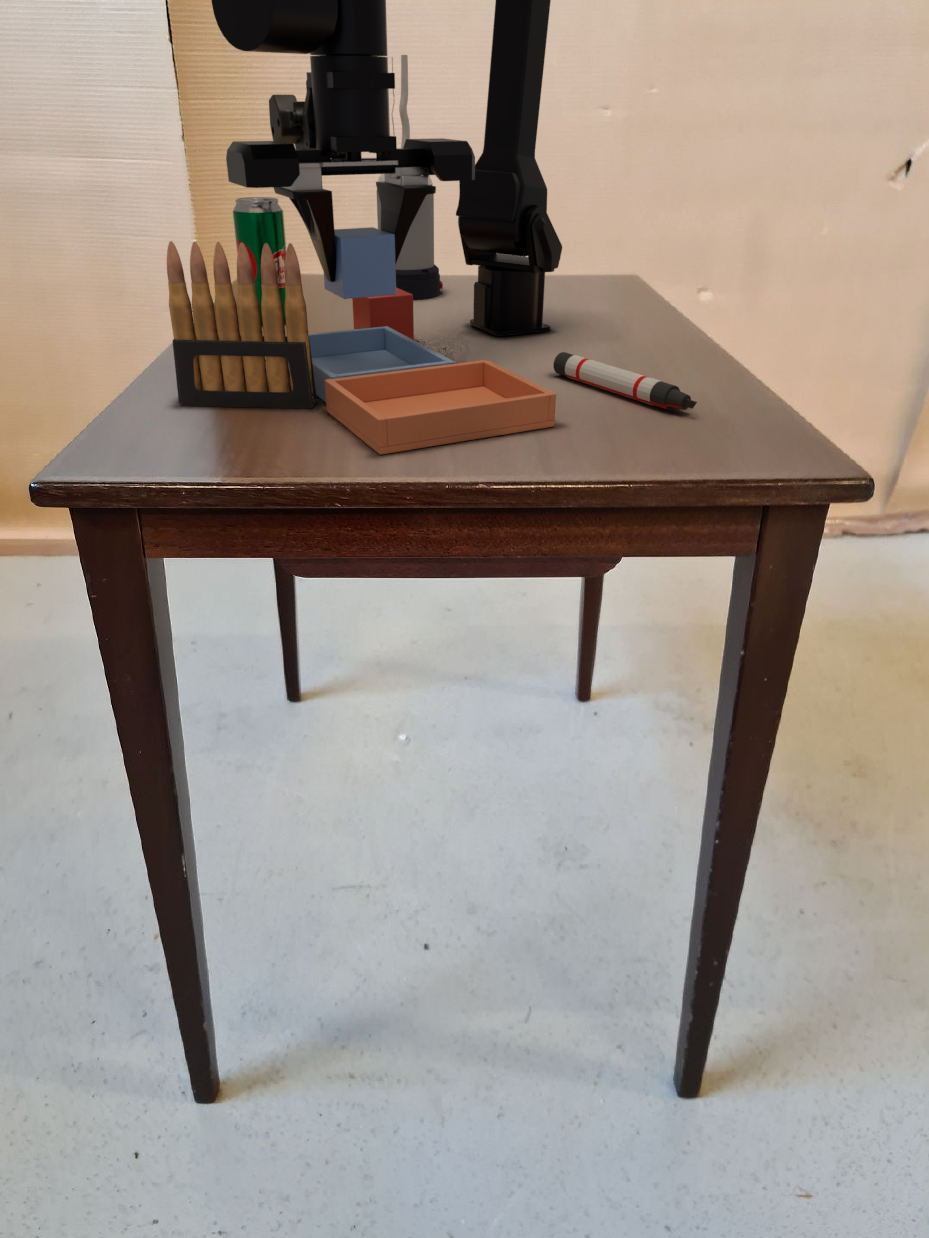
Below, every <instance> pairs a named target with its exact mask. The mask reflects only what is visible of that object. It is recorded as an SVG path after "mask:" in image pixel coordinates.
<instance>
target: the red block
mask: <svg viewBox="0 0 929 1238" xmlns="http://www.w3.org/2000/svg"><path fill="white" fill-rule="evenodd" d="M351 299H352V317H353V319H352V320H353V330H354V329H364V328H374V327H384V326H388V327H390V328H392V329H393V330H395V331H397V332H399V333H401V334H403V335H405V336H407V337H409V338H411V339H412V340H414V341H415V333H414V332H415V331H414V330H415V328H414V327H415V325H414V300H413V294H410V293H408V292H406V291H403V290H401V289H399V288H396V294H395V295H384V296H373V297H361V298H351Z"/></svg>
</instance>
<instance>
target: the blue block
mask: <svg viewBox="0 0 929 1238" xmlns="http://www.w3.org/2000/svg"><path fill="white" fill-rule="evenodd" d="M334 232H335V247H336V277H335V282H330V281H328V280H327V279H326V276H325V274H324V273H323V282H324V283H323V284H324V290H326V291H328V292H330V293H331V294H334V295H335V296H338V297H339V298H342V299H344V300H351V299H352V298H361V297H373V296H384V295H395V294H396V266H395V235H394V234H392V233H388V232H385V231H382V230H379V229H378V228H376V227H372V226H371V227H358V228H357V227H354V228H353V227H352V228H337V229H335V228H334Z"/></svg>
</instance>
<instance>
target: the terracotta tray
mask: <svg viewBox="0 0 929 1238" xmlns="http://www.w3.org/2000/svg"><path fill="white" fill-rule="evenodd" d="M325 392H326V402H325V404H326V406H325V407H326V412H327V413H328V414H329V415H330V416H332V417H333V418H334V419H336V420H337V421H338V422H339V423H340V424H342V425H343V426H344V427H345V428H347V429H348V430H349V431H350V432H351V433H353V434H354V435H355V436H356V437H358V439H360V440H361V441H363V442H364V443H365V444H366V445H367V446H369V447H370V448H371V449H372V450H373V451H375V453H377V454H378V455H387V454H393V453H399V452H405V451H411V450H417V449H424V448H428V447H430V448H431V447H437V446H442V445H448V444H455V443H460V442H467V441H472V440H473V441H474V440H479V439H486V438H490V437H497V436H503V435H508V434H509V435H510V434H515V433H522V432H529V431H535V430H540V429H547V428H553V427H555V419H556V403H557V393H555V392H553V391H551V390H549V389H547V388H545V387H543V386H541V385H539V384H537V383H535V382H534V381H531V380H529V379H527V378H524V377H523V376H520V375H519V374H516V373H515V372H512V371H511V370H508V369H506V368H505V367H503V366H501V365H499V364H496V363H495V362H493V361H490V360H488V359H481V360H474V361H466V362H465V361H464V362H458V363H456V362H455V364H448V365H440V366H432V367H424V368H416V369H408V370H400V371H392V372H384V373H376V374H368V375H359V376H351V377H343V378H335V379H327V380H325Z"/></svg>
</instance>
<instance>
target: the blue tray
mask: <svg viewBox="0 0 929 1238" xmlns="http://www.w3.org/2000/svg"><path fill="white" fill-rule="evenodd" d="M308 335H309V340H310V348H311V356H312V364H313V372H314V380H315V388H316V396H317V397H318V398H320V400H322V401H323V402H325V403H326V392H325V380H327V379H335V378H343V377H351V376H359V375H368V374H376V373H384V372H392V371H400V370H408V369H416V368H424V367H432V366H440V365H448V364H456V361H454V360H452V359H450V358H448V357H447V356H445V355H443V354H441V353H439V352H437V351H435V350H433V349H431V348H429V347H427V346H426V345H424V344H422V343H420V342H418V341H416V340H415V339H414V340H412V339H411V338H409V337H407V336H405V335H403V334H401V333H399V332H397V331H395V330H393V329H392V328H390V327H388V326H384V327H374V328H364V329H354V328H353V329H345V330H337V331H336V330H335V331H326V332H315V333H308ZM286 337H287V335H286ZM288 367H289V362H288ZM289 375H290V367H289Z"/></svg>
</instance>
